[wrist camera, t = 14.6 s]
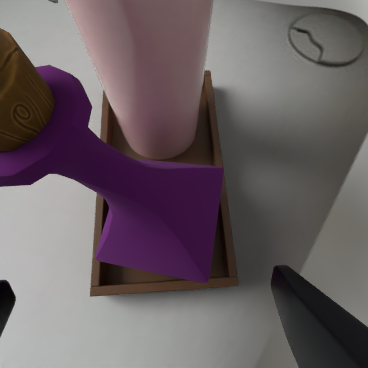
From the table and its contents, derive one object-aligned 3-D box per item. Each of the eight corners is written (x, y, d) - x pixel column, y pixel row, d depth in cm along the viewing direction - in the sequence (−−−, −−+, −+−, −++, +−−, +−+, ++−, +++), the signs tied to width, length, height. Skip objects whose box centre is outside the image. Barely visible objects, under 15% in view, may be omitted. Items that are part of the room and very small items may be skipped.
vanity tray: (232, 283, 18) (238, 285, 16) (99, 293, 17) (89, 296, 15) (208, 85, 24) (210, 70, 22) (110, 89, 24) (104, 74, 22)
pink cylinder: (200, 158, 21) (293, -335, 4) (122, 162, 20) (-166, -347, 3) (194, 95, 23) (234, -387, 6) (124, 98, 23) (-43, -396, 6)
